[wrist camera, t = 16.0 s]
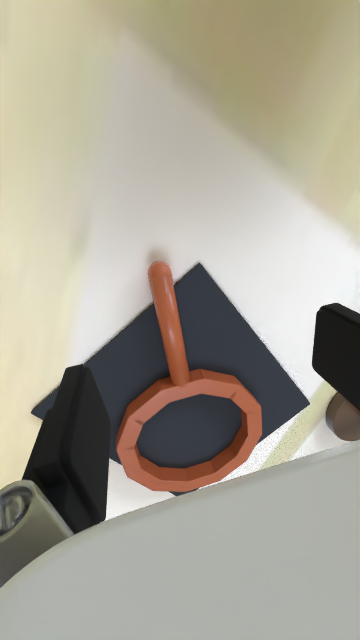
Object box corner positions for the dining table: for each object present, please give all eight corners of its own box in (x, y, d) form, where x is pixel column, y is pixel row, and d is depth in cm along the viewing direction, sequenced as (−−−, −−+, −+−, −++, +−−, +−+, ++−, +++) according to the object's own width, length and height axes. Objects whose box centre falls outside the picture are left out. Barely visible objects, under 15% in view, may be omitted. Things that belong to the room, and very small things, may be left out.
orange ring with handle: (256, 454, 29) (263, 467, 28) (137, 493, 27) (138, 508, 26) (246, 240, 19) (256, 243, 17) (56, 280, 17) (50, 287, 16)
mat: (31, 409, 21) (30, 413, 21) (199, 262, 19) (200, 264, 19) (182, 496, 30) (183, 500, 29) (308, 401, 28) (310, 403, 27)
